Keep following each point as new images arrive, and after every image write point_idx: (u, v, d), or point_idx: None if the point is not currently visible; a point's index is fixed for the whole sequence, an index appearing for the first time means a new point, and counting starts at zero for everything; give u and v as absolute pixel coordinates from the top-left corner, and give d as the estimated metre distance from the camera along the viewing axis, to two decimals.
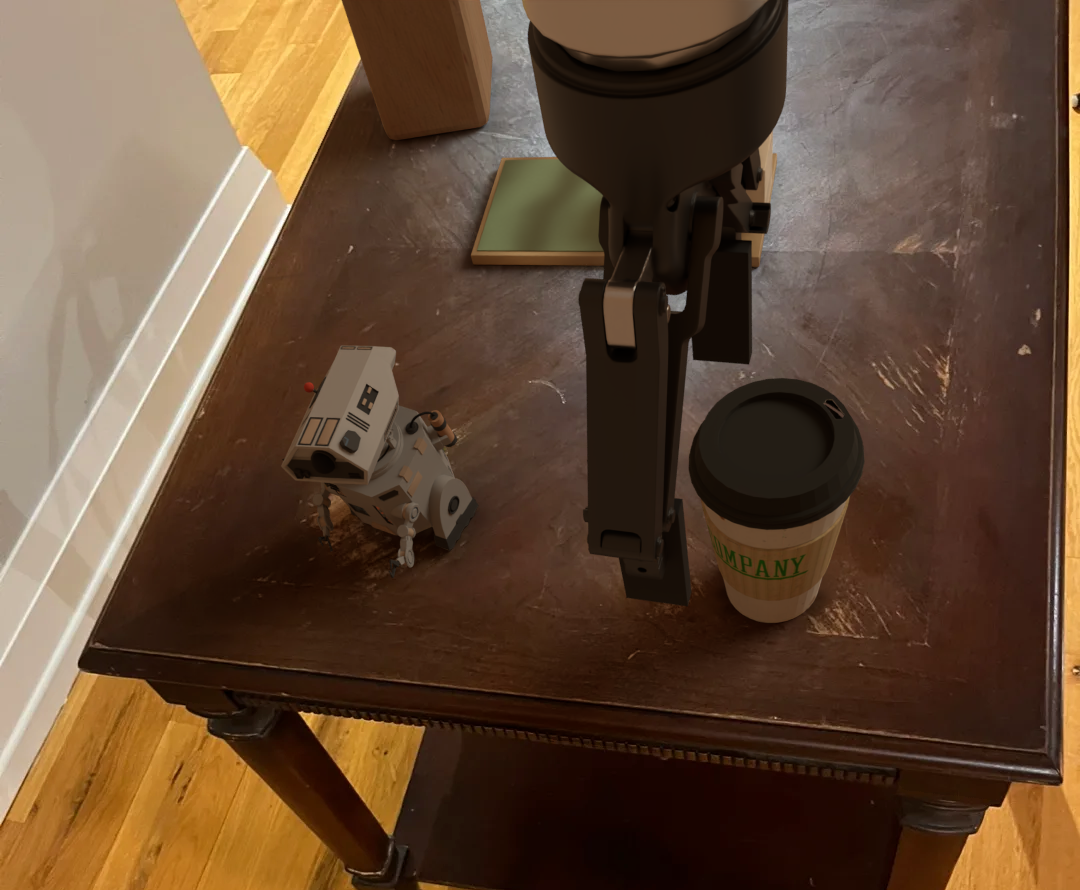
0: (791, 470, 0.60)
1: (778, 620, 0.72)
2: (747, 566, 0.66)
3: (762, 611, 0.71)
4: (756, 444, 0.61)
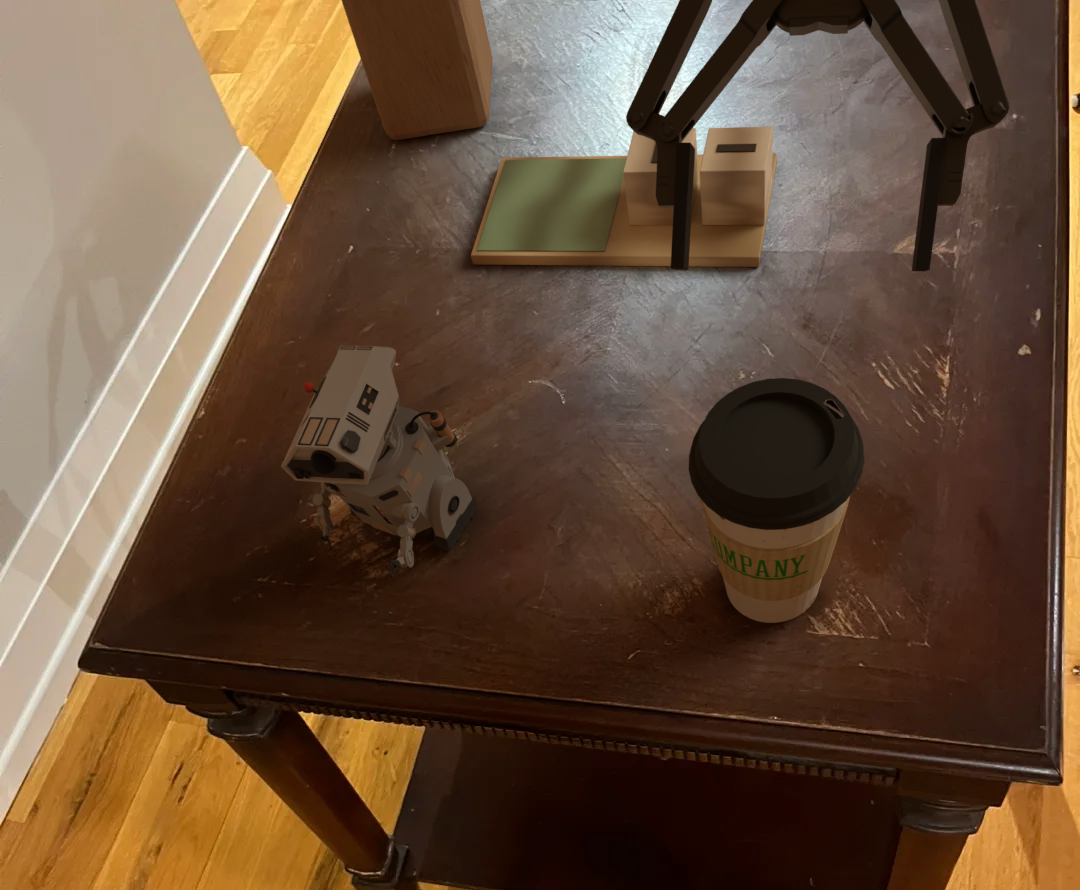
0: (791, 470, 0.60)
1: (778, 620, 0.72)
2: (747, 566, 0.66)
3: (762, 611, 0.71)
4: (756, 444, 0.61)
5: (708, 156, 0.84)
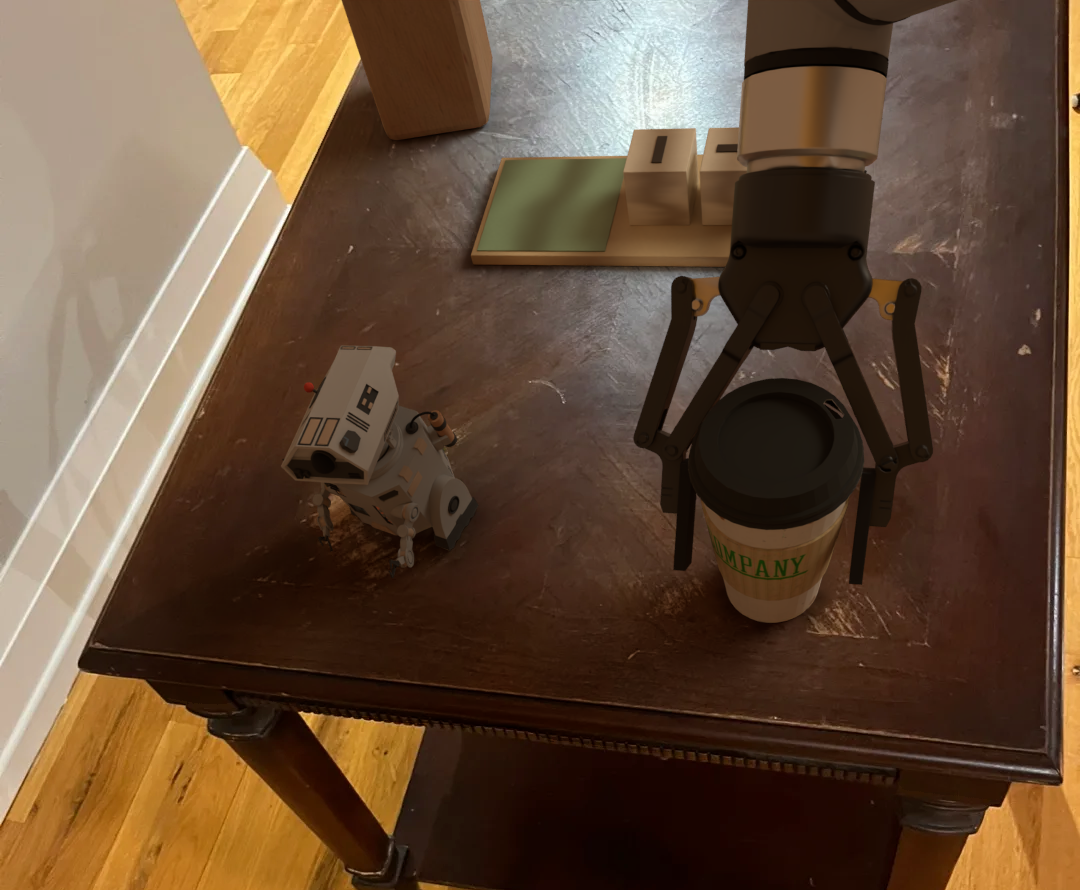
0: (791, 470, 0.60)
1: (778, 620, 0.72)
2: (747, 566, 0.66)
3: (762, 611, 0.71)
4: (755, 444, 0.61)
5: (708, 156, 0.84)
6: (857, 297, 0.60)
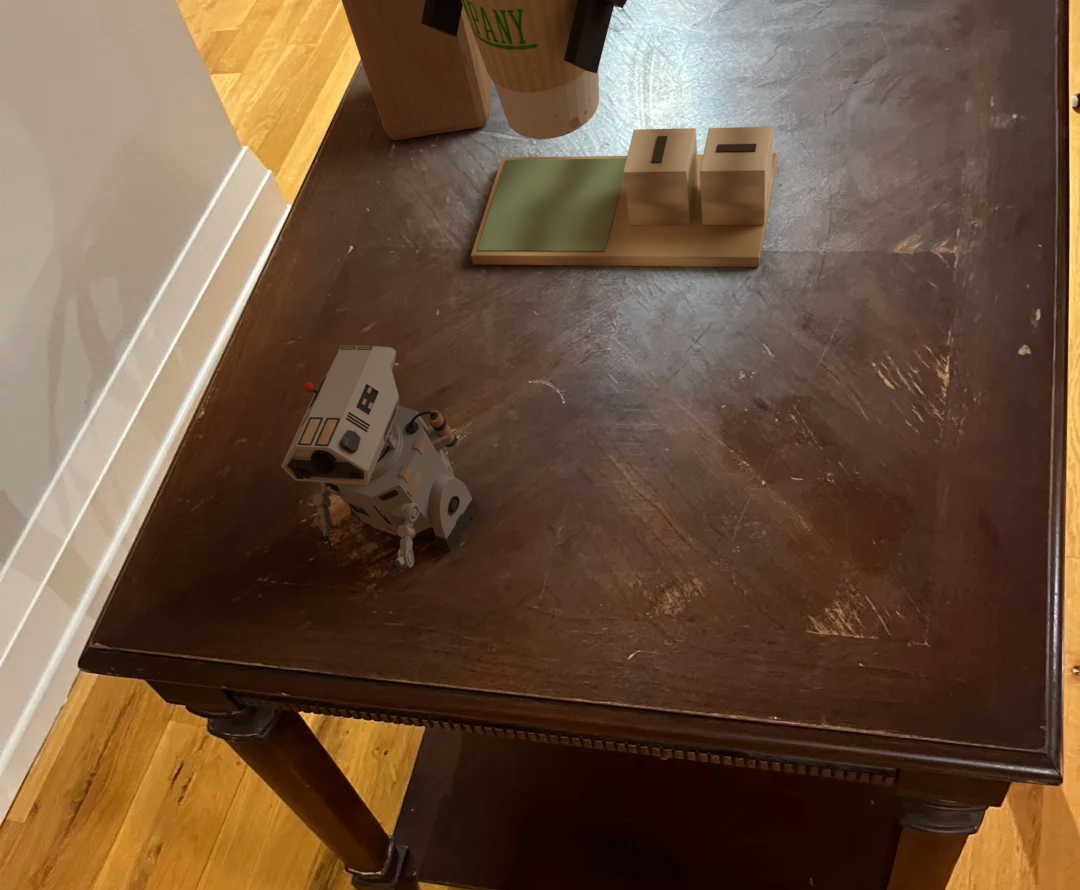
0: None
1: (535, 135, 0.70)
2: (477, 22, 0.64)
3: (516, 114, 0.69)
4: None
5: (708, 156, 0.84)
6: None
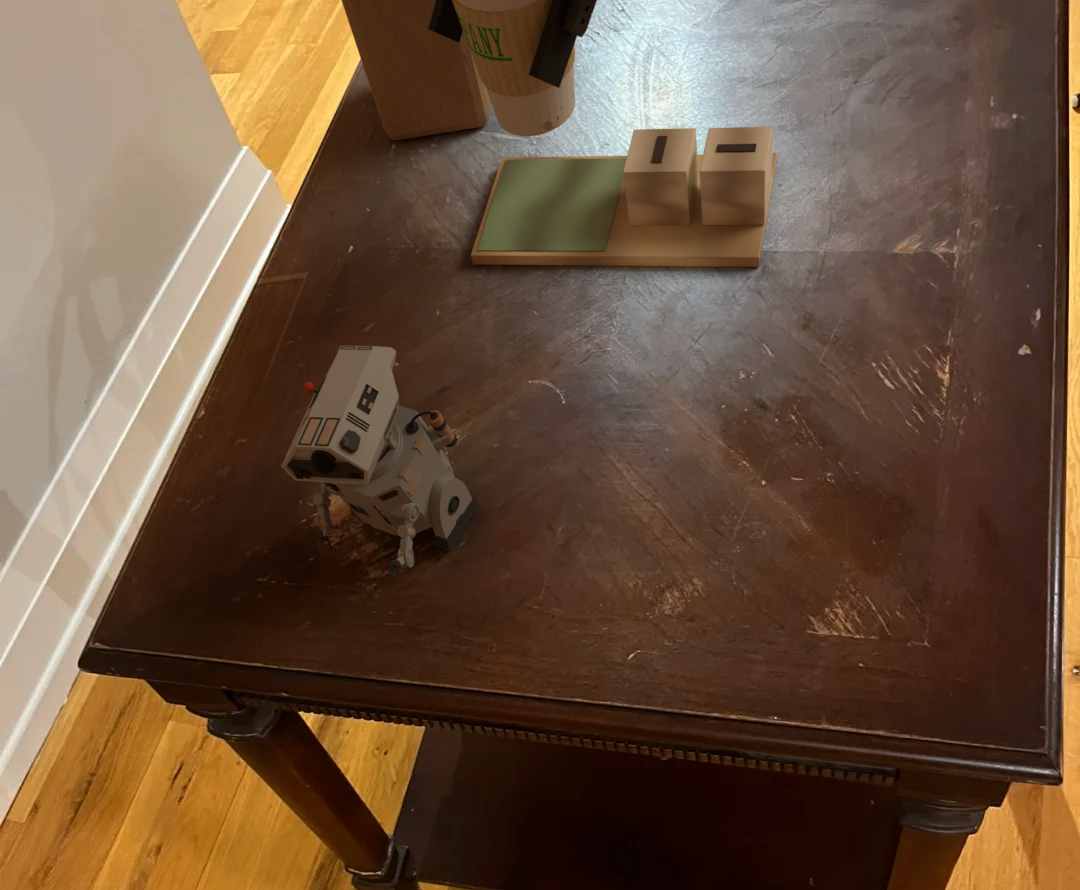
0: None
1: (515, 131, 0.84)
2: (467, 34, 0.78)
3: (500, 113, 0.83)
4: None
5: (708, 156, 0.84)
6: None
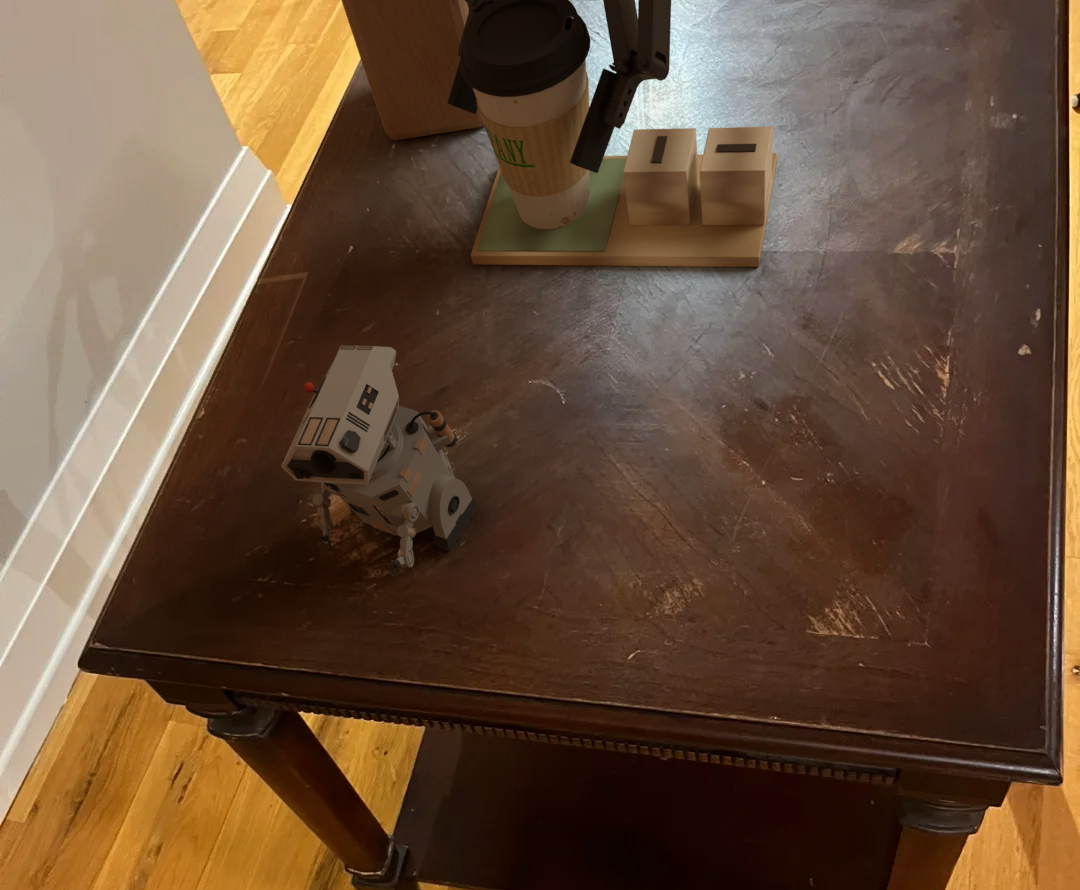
0: (512, 52, 0.79)
1: (535, 225, 0.91)
2: (493, 143, 0.85)
3: (522, 208, 0.90)
4: (507, 30, 0.80)
5: (708, 156, 0.84)
6: None
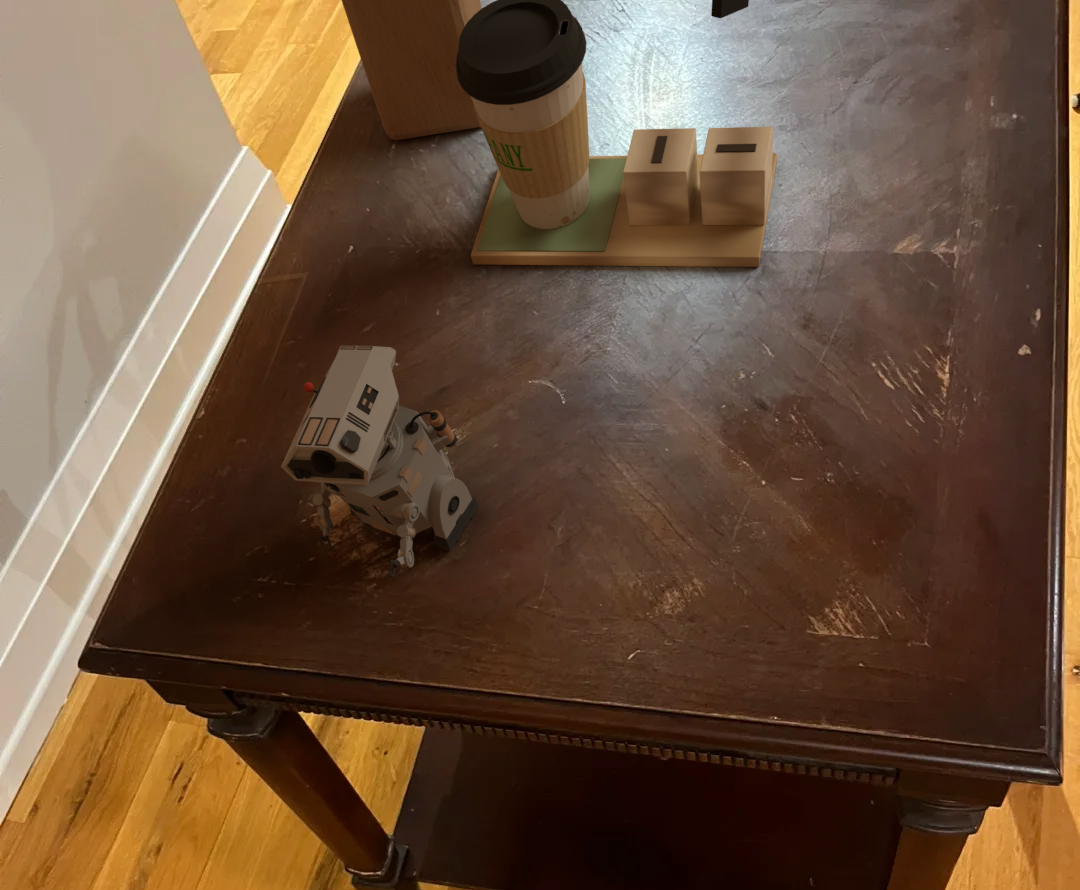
0: (508, 59, 0.78)
1: (535, 225, 0.91)
2: (491, 146, 0.85)
3: (521, 209, 0.90)
4: (502, 35, 0.79)
5: (708, 156, 0.84)
6: None
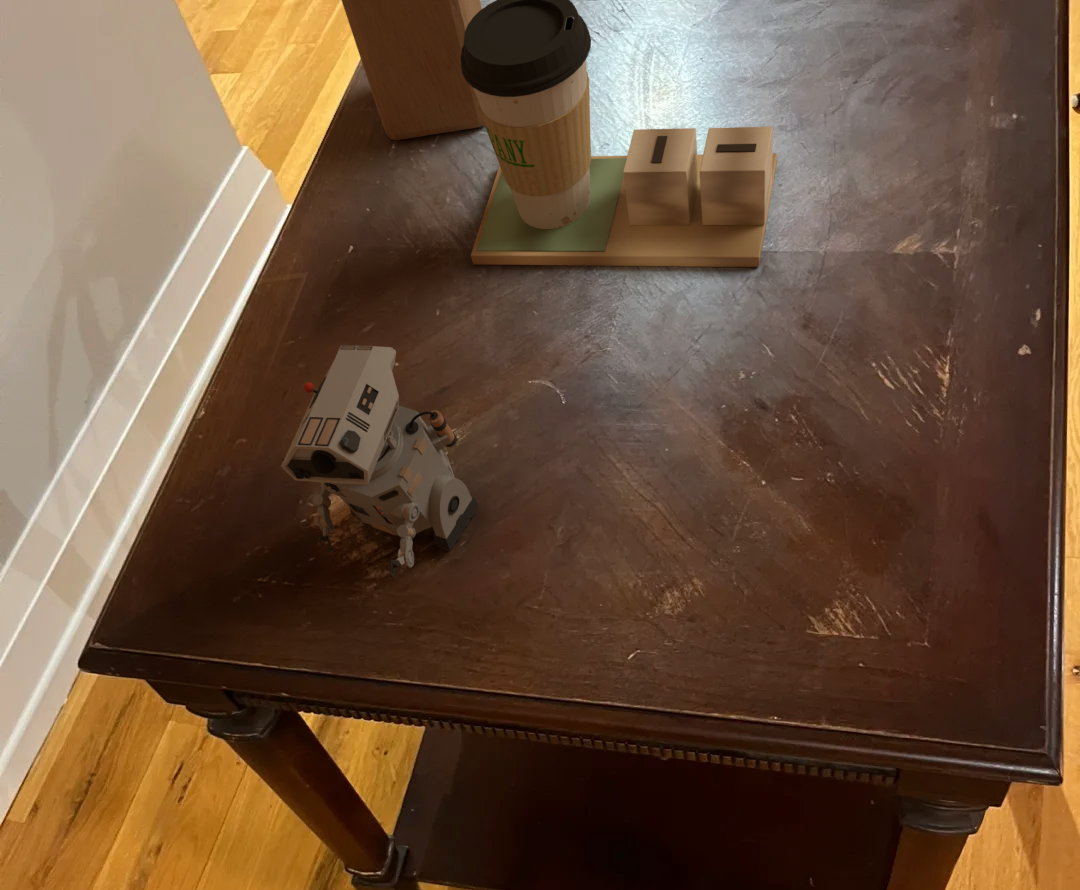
0: (513, 52, 0.79)
1: (535, 225, 0.91)
2: (493, 142, 0.85)
3: (522, 208, 0.90)
4: (507, 30, 0.80)
5: (708, 156, 0.84)
6: None
